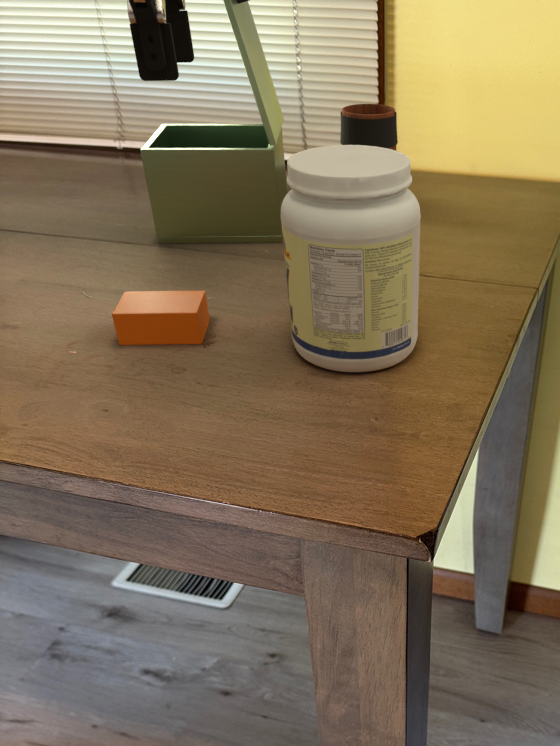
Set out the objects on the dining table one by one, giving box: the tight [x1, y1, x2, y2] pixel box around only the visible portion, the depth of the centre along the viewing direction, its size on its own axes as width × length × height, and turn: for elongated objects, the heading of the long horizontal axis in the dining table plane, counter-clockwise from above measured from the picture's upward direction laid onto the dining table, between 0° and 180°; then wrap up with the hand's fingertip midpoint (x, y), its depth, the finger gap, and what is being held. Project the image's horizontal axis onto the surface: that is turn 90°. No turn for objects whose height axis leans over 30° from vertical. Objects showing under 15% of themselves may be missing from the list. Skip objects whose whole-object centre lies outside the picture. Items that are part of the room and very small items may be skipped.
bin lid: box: [222, 0, 285, 146], centre depth 89 cm, size 16×14×5 cm
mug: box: [339, 103, 399, 151], centre depth 108 cm, size 9×12×12 cm
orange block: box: [111, 290, 211, 346], centre depth 75 cm, size 8×6×3 cm
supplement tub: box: [281, 144, 422, 373], centre depth 68 cm, size 12×12×17 cm
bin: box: [139, 123, 288, 244], centre depth 97 cm, size 16×14×11 cm
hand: (169, 70), depth 68 cm, fingers open, 9 cm apart
